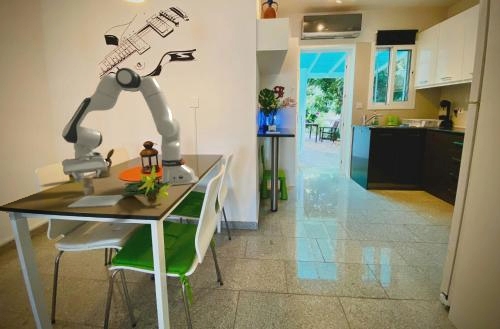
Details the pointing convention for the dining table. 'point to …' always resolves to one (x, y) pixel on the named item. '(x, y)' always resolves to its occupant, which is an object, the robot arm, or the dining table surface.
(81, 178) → the canned food
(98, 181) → the dining table surface
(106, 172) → the wooden mug
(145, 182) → the daffodil flowers
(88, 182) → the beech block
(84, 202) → the grey-blue mat
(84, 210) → the dining table surface
